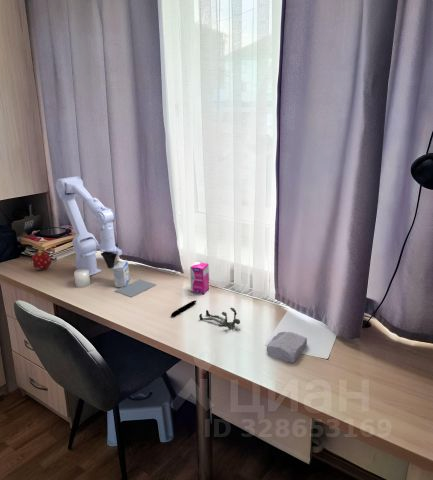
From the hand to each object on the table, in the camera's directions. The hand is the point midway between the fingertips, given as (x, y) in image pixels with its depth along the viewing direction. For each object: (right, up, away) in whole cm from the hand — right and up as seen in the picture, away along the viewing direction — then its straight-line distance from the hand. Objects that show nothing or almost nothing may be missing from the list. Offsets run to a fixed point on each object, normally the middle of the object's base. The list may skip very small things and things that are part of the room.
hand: (110, 267), depth 172 cm
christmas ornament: (-36, -2, +16) cm, 40 cm away
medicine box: (+6, -7, -2) cm, 9 cm away
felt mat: (+12, -8, -7) cm, 16 cm away
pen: (+34, -14, -25) cm, 45 cm away
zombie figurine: (+47, -17, -35) cm, 61 cm away
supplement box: (+39, -9, -10) cm, 42 cm away
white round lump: (-11, -7, -2) cm, 14 cm away
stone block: (+67, -22, -51) cm, 87 cm away
